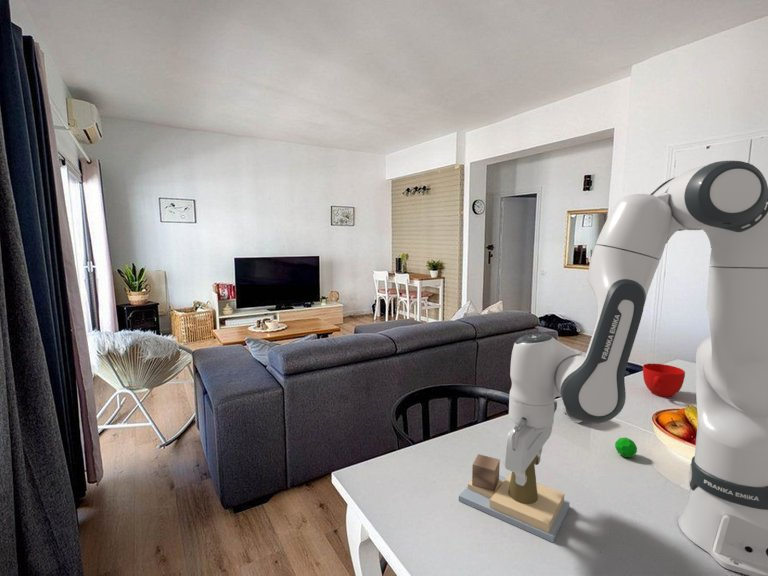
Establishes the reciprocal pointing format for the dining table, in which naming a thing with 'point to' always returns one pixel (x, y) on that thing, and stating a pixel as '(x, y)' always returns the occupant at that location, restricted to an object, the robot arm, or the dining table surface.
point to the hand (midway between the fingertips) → (528, 472)
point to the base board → (485, 508)
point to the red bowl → (663, 379)
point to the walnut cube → (485, 472)
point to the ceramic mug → (571, 416)
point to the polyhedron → (626, 447)
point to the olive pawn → (525, 486)
